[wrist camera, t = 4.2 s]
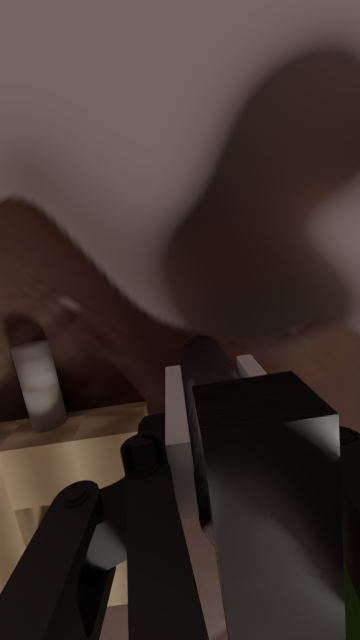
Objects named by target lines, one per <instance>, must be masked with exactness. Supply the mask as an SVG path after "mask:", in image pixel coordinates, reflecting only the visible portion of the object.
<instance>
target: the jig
mask: <svg viewBox="0 0 360 640" xmlns="http://www.w3.org/2000/svg"><path fill="white" fill-rule="evenodd" d="M11 354H12V357H13V361H14V364H15V368H16V372H17V375H18V379H19V382H20V386H21V389H22V393H23V396H24V400H25V404H26V407H27V411H28V414H29V418H27V419H20V420H13V421H6V422H0V593H1V592H2V590H3V588H4V586H5V585H6V583H7V581H8V579H9V577H10V576H11V574H12V572H13V570H14V569H15V567H16V565H17V563H18V562H19V560H20V558H21V556H22V554H23V553H24V551H25V549H26V547H27V546H28V544H29V542H30V540H31V539H32V537H33V535H34V533H35V531H36V530H37V528H38V526H39V524H40V523H41V521H42V519H43V517H44V515H45V514H46V512H47V510H48V508H49V507H50V505H51V503H52V501H53V500H54V498H55V497H56V496H57V494H58V493H59V492H60V491H61V490H63V489H64V488H65V487H67V486H68V485H70V484H73V483H75V482H78V481H82V480H91V481H93V482H95V483H97V484H98V486H99V488H100V489H101V488H104V487H106V486H109V485H111V484H113V483H115V482H117V481H119V480H120V479H122V478H123V477H124V476H125V472H124V468H123V463H122V458H121V453H120V448H121V445H122V444H123V443H124V442H125V441H126V440H127V439H128V438H130V437H131V436H133V435H136V434H137V433H138V432H137V431H138V425H139V423H140V421H141V420H142V419H143V418H144V416H149V414H148V409H147V403H146V401H143V402H137V403H130V404H123V405H116V406H109V407H102V408H95V409H89V410H82V411H75V412H68V413H66V409H65V405H64V401H63V397H62V393H61V389H60V385H59V381H58V377H57V373H56V369H55V365H54V361H53V357H52V353H51V349H50V345H49V341H48V340H37V341H31V342H27V343H24V344H20V345H18V346H15V347H13V348H12V349H11ZM122 604H128V587H127V560H126V561H124V562H122V563H120V564H118V565H116V572H115V576H114V580H113V584H112V588H111V592H110V596H109V600H108V604H107V607H108V606H115V605H122Z"/></svg>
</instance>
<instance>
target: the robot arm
mask: <svg viewBox="0 0 360 640" xmlns="http://www.w3.org/2000/svg"><path fill="white" fill-rule="evenodd" d="M236 361H237V371H238V374H239V376H240V378H247V377H253V376H260V375H266V374H267V373H266V372H265V371H264V370H263V369H262V367H261V366H260V365H259V364H258V363H257V361H256V360H255V359H254V358H253V357H252V356H251V354H249V355H242V356H236ZM137 432H138V433H137V434H136V435H133V436H131V437H130V438H128V439H127V440H126V441H125V442H124V443H123V444H122V445H121V448H120V453H121V458H122V463H123V468H124V472H125V476H124V477H123V478H122V479H120V480H119V481H117V482H115V483H113V484H111V485H109V486H106V487H104V488H101V489H100V488H99V486H98V484H97V483H95V482H93V481H91V480H82V481H78V482H75V483H73V484H70V485H68V486H67V487H65V488H64V489H63V490H61V491H60V492H59V493H58V494H57V496H56V497H55V498H54V500H53V501H52V503H51V505H50V507H49V508H48V510H47V512H46V514H45V515H44V517H43V519H42V521H41V523H40V524H39V526H38V528H37V530H36V531H35V533H34V535H33V537H32V539H31V540H30V542H29V544H28V546H27V547H26V549H25V551H24V553H23V554H22V556H21V558H20V560H19V562H18V563H17V565H16V567H15V569H14V570H13V572H12V574H11V576H10V577H9V579H8V581H7V583H6V585H5V586H4V588H3V590H2V592H1V593H0V640H99V637H100V633H101V629H102V625H103V621H104V617H105V613H106V609H107V604H108V600H109V596H110V592H111V588H112V584H113V580H114V576H115V572H116V565H118V564H120V563H122V562H124V561H126V560H127V587H128V631H129V640H209V637H208V633H207V629H206V625H205V620H204V616H203V612H202V608H201V604H200V599H199V595H198V591H197V587H196V582H195V578H194V574H193V570H192V565H191V561H190V557H189V553H188V548H187V544H186V540H185V536H184V531H183V527H182V523H181V519H186V518H192V517H199V514H198V506H197V498H196V490H195V482H194V464H193V457H192V449H191V442H190V434H189V427H188V419H187V412H186V404H185V396H184V389H183V381H182V375H181V368H180V365H176V366H170V367H166V371H165V413H162V414H156V415H149V416H144V418H143V419H142V420H141V421H140V423H139V425H138V431H137ZM339 438H340V470H341V502H342V534H343V563H344V565H345V567H346V570H347V572H348V575H349V577H350V579H351V582H352V584H353V586H354V589H355V591H356V594H357V596H358V598H359V601H360V434H359V433H358V432H356V431H354V430H352V429H350V428H346V427H342V426H339Z"/></svg>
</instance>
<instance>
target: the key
mask: <svg viewBox="0 0 360 640" xmlns="http://www.w3.org/2000/svg"><path fill="white" fill-rule="evenodd" d="M179 363H180V368H181V375H182V381H183V389H184V396H185V404H186V412H187V419H188V427H189V434H190V442H191V449H192V457H193V464H194V482H195V490H196V498H197V506H198V514H199V521H200V525H201V528H202V531H203V533H204V535H205V536H206V538H207V539H208V540H209V541H210V543H212V544H213V545H214V546H215V552H216V559H217V566H218V573H219V580H220V587H221V594H222V601H223V608H224V615H225V622H226V628H227V634H228V640H346V629H345V598H344V566H343V534H342V502H341V470H340V438H339V414H338V413H337V412H336V411H335V410H334V409H333V408H332V407H330V406H329V405H328V404H327V403H326V402H325V401H324V400H323V399H322V398H321V397H320V396H318V395H317V394H316V393H315V392H314V391H313V390H312V389H311V388H310V387H309V386H308V385H306V384H305V383H304V382H303V381H302V380H301V379H300V378H299V377H298V376H297V375H296V374H294V373H293V372H292V371H286V372H280V373H273V374H266V375H260V376H253V377H247V378H240V376H239V374H238V373H237V371H236V370H235V368H234V366H233V365H232V363H231V361H230V360H229V358H228V356H227V355H226V353H225V352H224V350H223V348H222V347H221V345H220V344H219V342H218V341H217V340H216V339H214V338H213V337H211V336H208V335H196V336H193V337H191V338H189V339H188V340H186V341H185V342H184V344H183V345H182V347H181V349H180V351H179Z"/></svg>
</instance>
